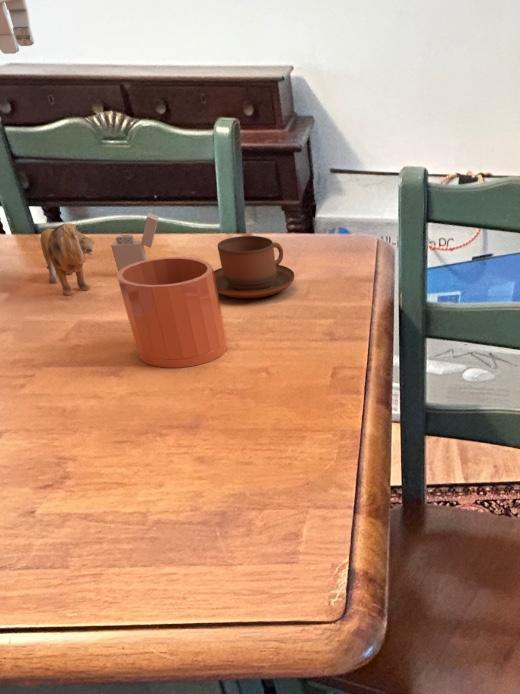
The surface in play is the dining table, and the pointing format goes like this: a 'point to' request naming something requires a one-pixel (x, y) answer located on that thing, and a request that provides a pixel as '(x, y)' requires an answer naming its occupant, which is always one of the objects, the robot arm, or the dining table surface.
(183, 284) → the terracotta-colored cup
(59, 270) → the lion figurine
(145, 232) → the lighter
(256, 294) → the cup and saucer
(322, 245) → the dining table surface
